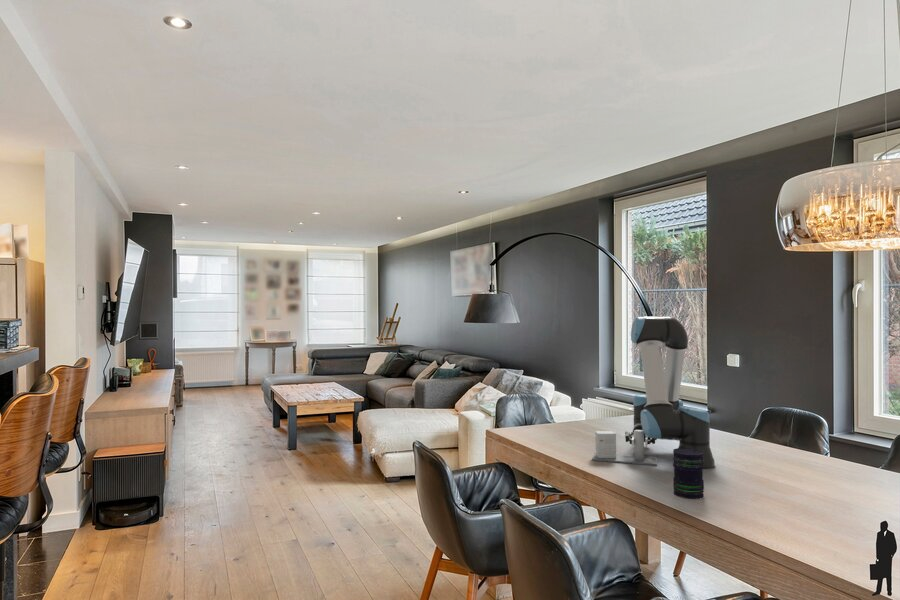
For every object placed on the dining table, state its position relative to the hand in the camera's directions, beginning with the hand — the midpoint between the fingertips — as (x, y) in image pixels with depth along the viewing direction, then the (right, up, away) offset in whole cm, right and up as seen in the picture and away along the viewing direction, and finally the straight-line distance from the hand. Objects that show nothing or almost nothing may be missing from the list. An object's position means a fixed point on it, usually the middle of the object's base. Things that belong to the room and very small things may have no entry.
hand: (639, 443), depth 240 cm
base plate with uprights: (-4, -9, +7) cm, 12 cm away
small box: (-11, -8, +10) cm, 17 cm away
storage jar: (+4, -8, -41) cm, 42 cm away
